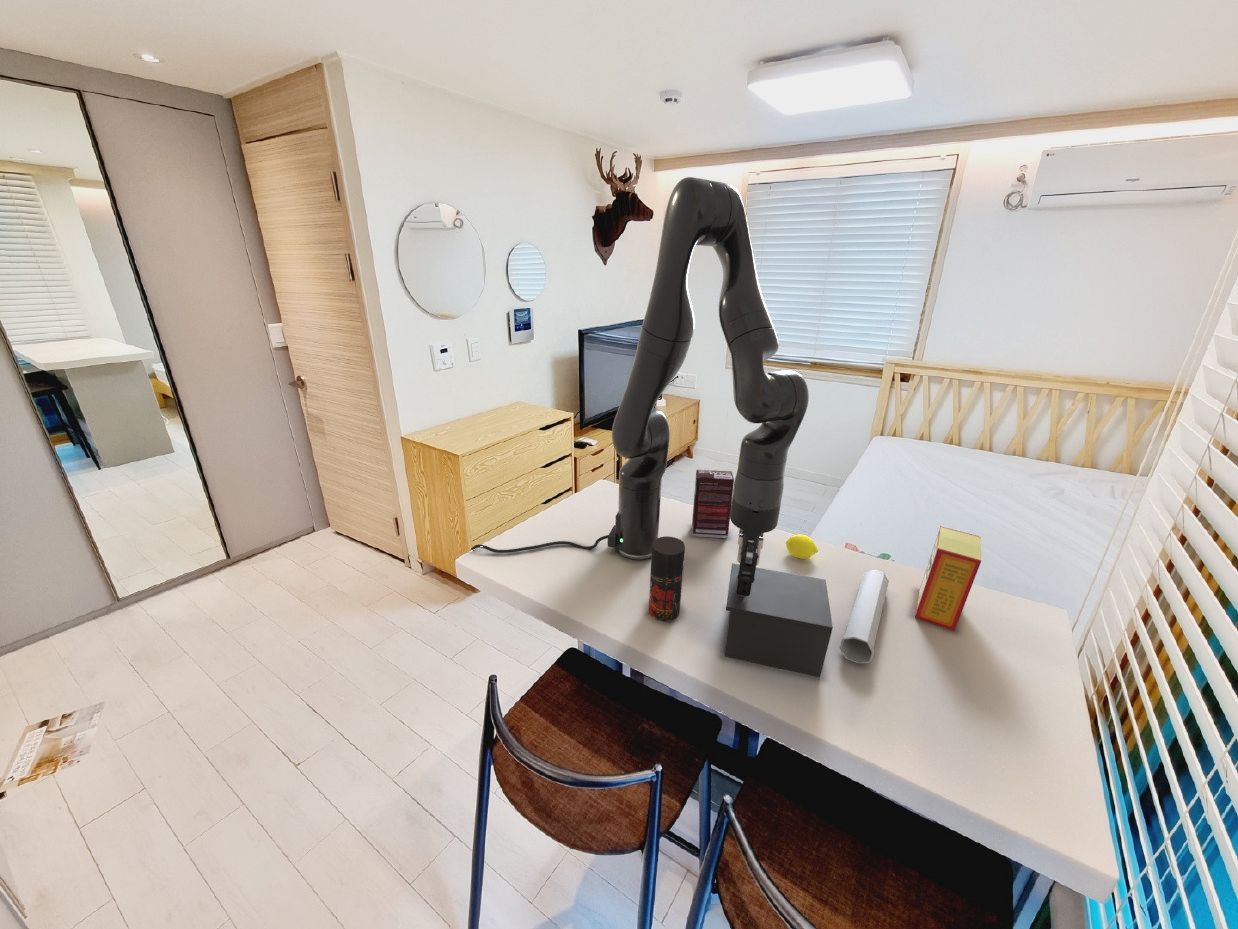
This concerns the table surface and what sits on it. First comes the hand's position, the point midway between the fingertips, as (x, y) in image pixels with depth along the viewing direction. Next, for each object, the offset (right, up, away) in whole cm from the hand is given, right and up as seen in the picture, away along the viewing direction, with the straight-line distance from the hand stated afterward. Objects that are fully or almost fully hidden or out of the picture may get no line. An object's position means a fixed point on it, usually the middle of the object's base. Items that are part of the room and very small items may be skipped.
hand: (744, 582), depth 87 cm
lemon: (+19, -1, +27) cm, 34 cm away
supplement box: (0, +3, +36) cm, 36 cm away
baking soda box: (+40, -8, +12) cm, 43 cm away
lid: (+6, -2, -1) cm, 6 cm away
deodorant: (-13, -8, +10) cm, 18 cm away
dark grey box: (+6, -11, +3) cm, 13 cm away
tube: (+25, -9, +9) cm, 28 cm away
